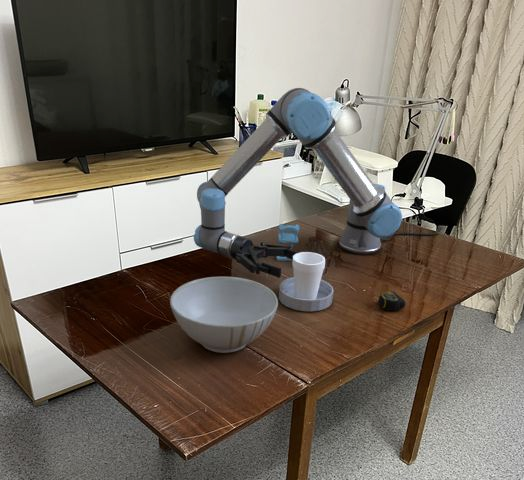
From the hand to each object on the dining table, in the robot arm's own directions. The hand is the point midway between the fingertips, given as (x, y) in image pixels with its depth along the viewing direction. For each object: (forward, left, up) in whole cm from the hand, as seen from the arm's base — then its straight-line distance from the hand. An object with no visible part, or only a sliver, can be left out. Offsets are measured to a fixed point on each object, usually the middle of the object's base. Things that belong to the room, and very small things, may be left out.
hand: (293, 265), depth 162 cm
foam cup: (-2, +5, -9) cm, 11 cm away
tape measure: (-22, +21, -10) cm, 32 cm away
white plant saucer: (-2, +5, -9) cm, 11 cm away
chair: (-17, -25, -10) cm, 32 cm away
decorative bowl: (+31, +13, -10) cm, 35 cm away
